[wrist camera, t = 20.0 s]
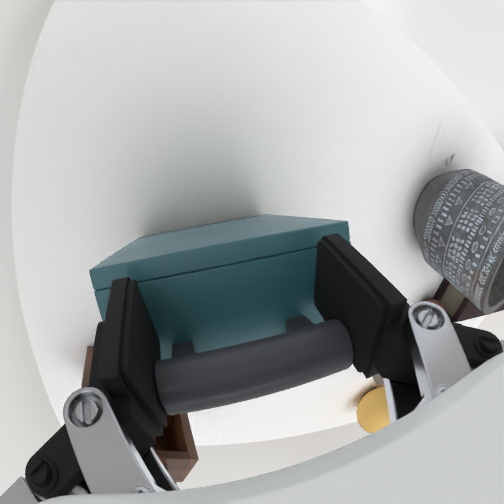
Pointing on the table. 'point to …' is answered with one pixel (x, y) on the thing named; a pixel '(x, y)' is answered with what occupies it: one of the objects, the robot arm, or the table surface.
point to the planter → (464, 234)
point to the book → (457, 303)
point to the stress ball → (373, 411)
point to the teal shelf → (232, 308)
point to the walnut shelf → (166, 437)
